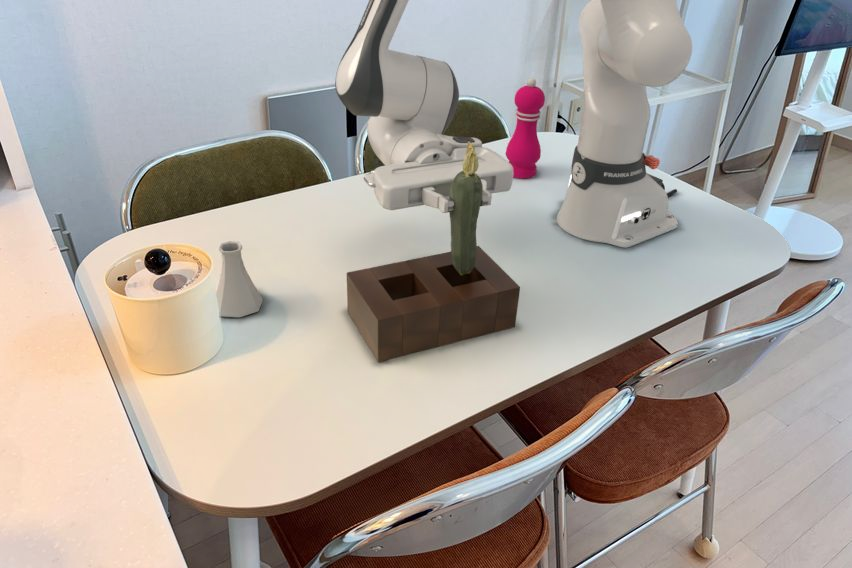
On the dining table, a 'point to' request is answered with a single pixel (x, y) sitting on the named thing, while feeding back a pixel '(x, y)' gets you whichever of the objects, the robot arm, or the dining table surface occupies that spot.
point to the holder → (429, 303)
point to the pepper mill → (526, 131)
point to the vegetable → (465, 213)
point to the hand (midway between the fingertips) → (468, 204)
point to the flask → (236, 284)
